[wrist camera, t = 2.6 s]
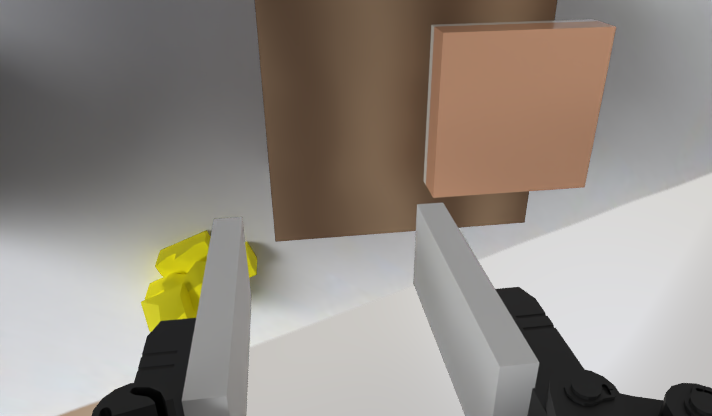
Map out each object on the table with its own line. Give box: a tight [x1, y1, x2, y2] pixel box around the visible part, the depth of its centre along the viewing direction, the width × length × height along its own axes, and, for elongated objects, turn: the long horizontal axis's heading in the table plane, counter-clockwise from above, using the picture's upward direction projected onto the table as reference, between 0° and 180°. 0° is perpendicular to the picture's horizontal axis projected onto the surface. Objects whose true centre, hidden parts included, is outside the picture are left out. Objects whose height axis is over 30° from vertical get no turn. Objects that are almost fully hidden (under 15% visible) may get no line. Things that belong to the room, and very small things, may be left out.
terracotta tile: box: [424, 19, 616, 198], centre depth 28 cm, size 8×8×2 cm
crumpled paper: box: [141, 230, 257, 332], centre depth 39 cm, size 6×8×8 cm
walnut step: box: [255, 0, 557, 241], centre depth 32 cm, size 14×14×10 cm
